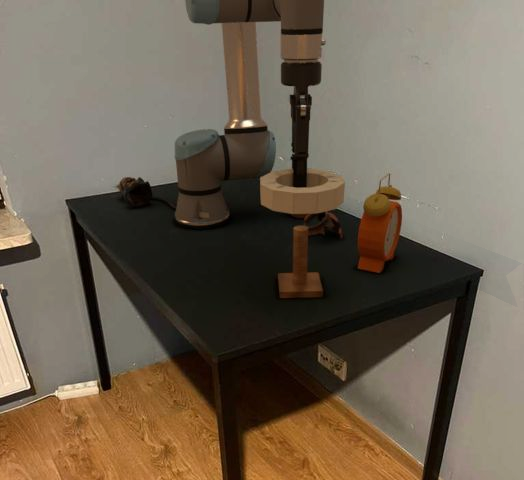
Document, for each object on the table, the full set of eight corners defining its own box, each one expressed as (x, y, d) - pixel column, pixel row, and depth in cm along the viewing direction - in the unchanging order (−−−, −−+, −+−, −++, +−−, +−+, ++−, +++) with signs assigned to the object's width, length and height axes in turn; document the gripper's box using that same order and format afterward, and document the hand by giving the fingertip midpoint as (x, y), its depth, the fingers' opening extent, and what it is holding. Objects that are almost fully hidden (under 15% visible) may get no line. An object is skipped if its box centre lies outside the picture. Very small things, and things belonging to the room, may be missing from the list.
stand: (279, 298, 114) (279, 236, 107) (277, 279, 122) (277, 220, 115) (322, 297, 114) (325, 235, 107) (318, 278, 122) (320, 219, 115)
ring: (245, 206, 105) (245, 185, 103) (283, 184, 117) (283, 165, 115) (322, 219, 98) (323, 197, 96) (354, 194, 110) (355, 174, 108)
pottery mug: (345, 245, 139) (332, 220, 133) (312, 258, 142) (297, 235, 137) (344, 217, 147) (331, 193, 141) (312, 230, 150) (298, 207, 145)
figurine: (123, 192, 158) (109, 173, 168) (133, 216, 164) (119, 197, 174) (150, 180, 160) (134, 162, 170) (159, 204, 166) (144, 186, 176)
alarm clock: (379, 276, 122) (390, 187, 111) (354, 271, 125) (361, 183, 114) (398, 255, 132) (409, 170, 121) (373, 250, 134) (382, 167, 124)
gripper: (327, 64, 93) (321, 200, 106) (317, 56, 107) (313, 177, 120) (283, 65, 93) (282, 201, 106) (278, 57, 107) (278, 178, 120)
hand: (298, 188), depth 113 cm, fingers closed on ring, 3 cm apart
